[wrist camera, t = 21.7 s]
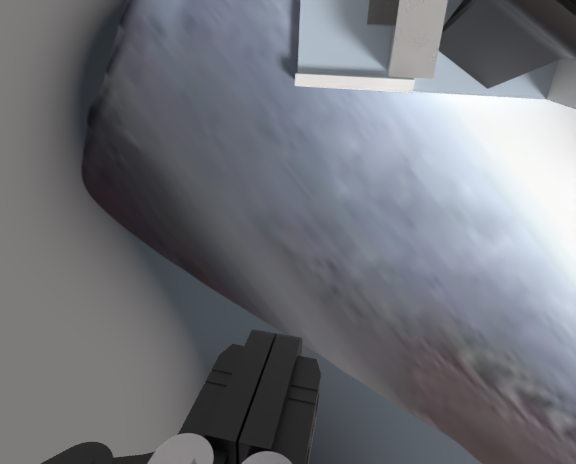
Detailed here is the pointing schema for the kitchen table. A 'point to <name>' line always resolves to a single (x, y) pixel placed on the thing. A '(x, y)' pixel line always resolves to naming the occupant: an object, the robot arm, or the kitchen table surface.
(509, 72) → the phone stand
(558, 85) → the vise body
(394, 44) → the block
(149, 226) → the kitchen table surface
